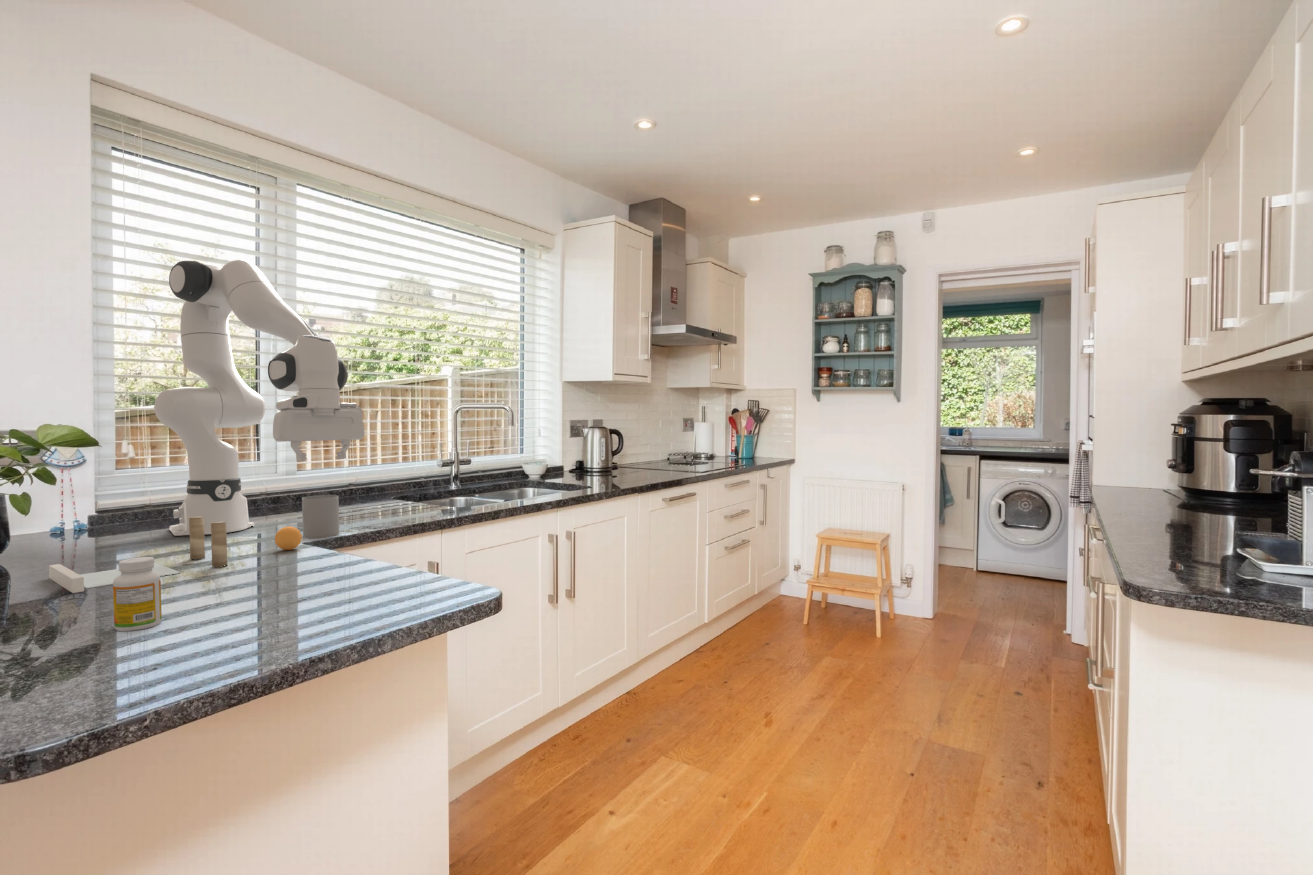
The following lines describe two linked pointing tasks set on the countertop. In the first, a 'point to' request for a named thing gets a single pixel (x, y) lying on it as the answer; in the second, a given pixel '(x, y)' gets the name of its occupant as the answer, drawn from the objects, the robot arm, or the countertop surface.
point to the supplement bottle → (137, 595)
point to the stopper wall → (66, 578)
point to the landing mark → (109, 576)
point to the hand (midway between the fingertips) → (321, 459)
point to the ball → (288, 538)
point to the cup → (320, 516)
